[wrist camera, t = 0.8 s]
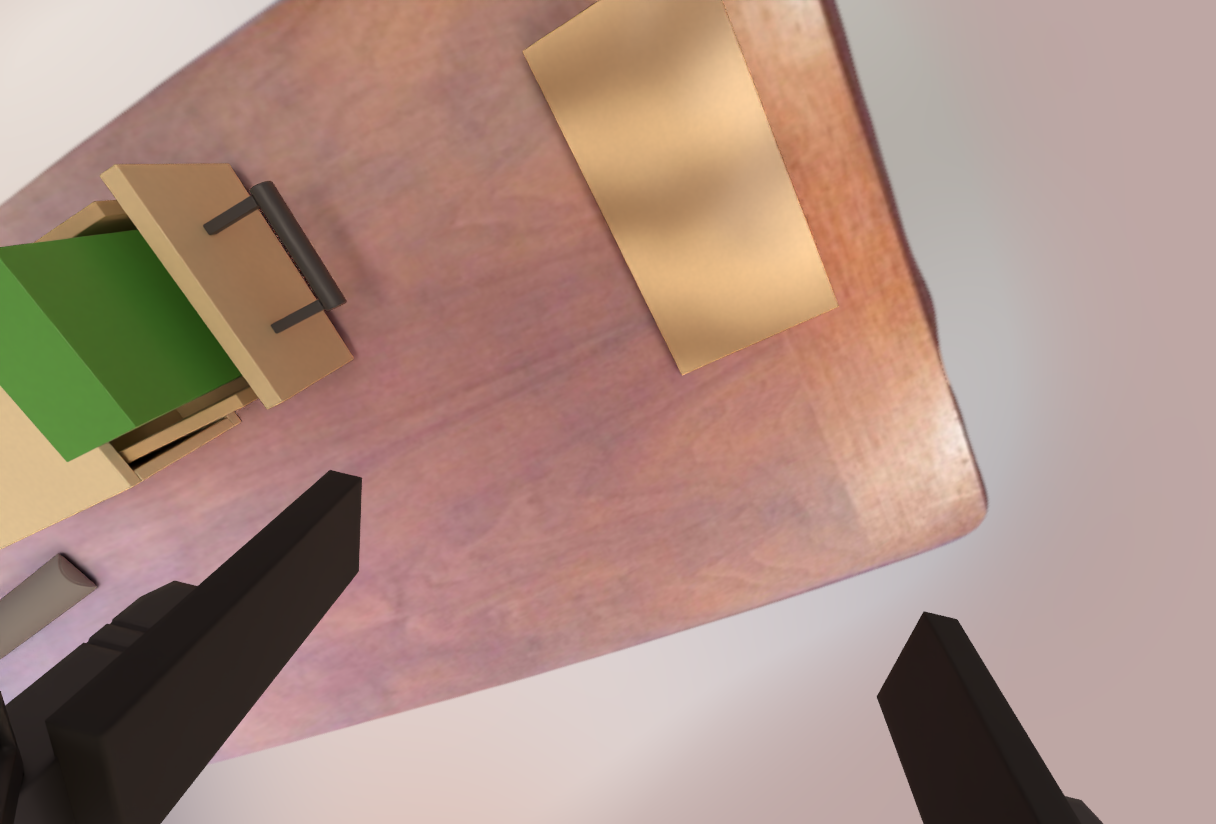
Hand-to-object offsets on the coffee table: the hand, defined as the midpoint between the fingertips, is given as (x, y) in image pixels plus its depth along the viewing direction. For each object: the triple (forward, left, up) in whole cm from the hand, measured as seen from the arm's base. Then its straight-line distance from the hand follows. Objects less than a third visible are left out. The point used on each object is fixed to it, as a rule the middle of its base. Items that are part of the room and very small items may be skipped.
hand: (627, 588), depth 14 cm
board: (-8, -2, -25) cm, 27 cm away
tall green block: (+9, -27, -23) cm, 37 cm away
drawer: (+9, -26, -25) cm, 37 cm away
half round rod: (+47, -44, -26) cm, 69 cm away
